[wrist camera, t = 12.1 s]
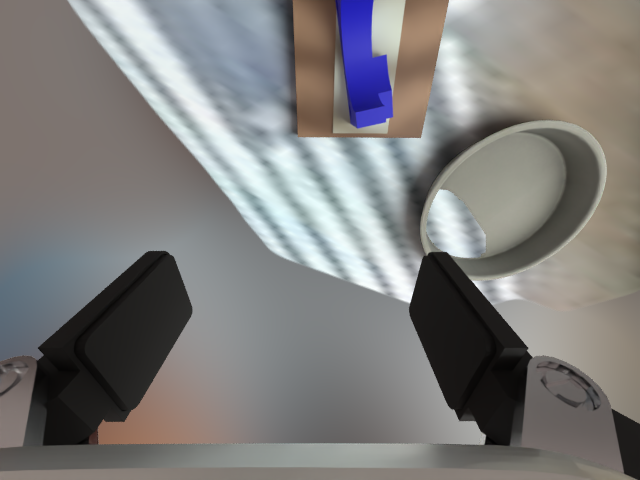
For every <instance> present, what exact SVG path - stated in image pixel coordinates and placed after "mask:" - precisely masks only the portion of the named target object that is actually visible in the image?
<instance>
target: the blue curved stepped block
mask: <svg viewBox="0 0 640 480" xmlns="http://www.w3.org/2000/svg"><path fill="white" fill-rule="evenodd" d="M335 2H336V10H337V18H338V26H339V34H340V42H341V50H342V58H343V66H344V74H345V82H346V90H347V98H348V107H349V115H350V123H351V124H352V125H353V126H354V127H356V128H357V129H358V128H363V127H367V126H372V125H376V124H381V123H385V122H386V119H388V118H392V117H393V101H392V88H391V85H390V80H389V74H388V65H387V54H386V55H382V56H378V57H374V58H373V57H372V12H373V2H374V0H335Z"/></svg>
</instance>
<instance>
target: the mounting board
mask: <svg viewBox="0 0 640 480" xmlns="http://www.w3.org/2000/svg"><path fill="white" fill-rule="evenodd" d="M448 2H449V0H374V2H373V12H372V57H373V58H374V57H378V56H382V55H386V54H387V65H388V74H389V80H390V85H391V88H392V101H393V117H392V118H388V119H386V122H385V123H381V124H376V125H372V126H367V127H363V128H358V129H357V128H356V127H354V126H353V125H352V124H351V123H350V115H349V107H348V98H347V90H346V82H345V74H344V66H343V58H342V50H341V42H340V34H339V26H338V18H337V10H336V2H335V0H293V19H294V46H295V73H296V99H297V126H298V137H379V138H421V135H422V130H423V125H424V120H425V115H426V110H427V105H428V100H429V96H430V91H431V86H432V81H433V76H434V71H435V66H436V61H437V56H438V51H439V46H440V41H441V37H442V32H443V27H444V22H445V17H446V12H447V7H448Z"/></svg>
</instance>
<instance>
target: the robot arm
mask: <svg viewBox="0 0 640 480" xmlns="http://www.w3.org/2000/svg"><path fill="white" fill-rule="evenodd" d="M409 313H410V317H411V320H412V322H413V324H414V327H415V329H416V331H417V334H418V336H419V338H420V341H421V343H422V346H423V348H424V350H425V353H426V355H427V357H428V360H429V362H430V364H431V367H432V369H433V371H434V374H435V376H436V378H437V381H438V383H439V386H440V388H441V390H442V393H443V395H444V398H445V400H446V402H447V404H448V406H449V407H450V408H451V409H454V410H455V412H456V414H457V417H458V419H459V421H476V422H477V425H478V427H479V429H480V431H481V432H482V433H481V437H480V442H479V445H461V444H327V443H323V444H320V443H317V444H109V445H108V444H107V445H106V444H104V445H99V444H98V426H99V425H100V423H101V422H102V420H103V419H104V420H105V421H106V422H124V421H125V420H126V418H127V416H128V415H129V413H130V411H131V410H133V409H134V408H136V407H137V406H138V404H139V403H140V401H141V400H142V398H143V396H144V395H145V393H146V391H147V389H148V388H149V386H150V384H151V383H152V381H153V379H154V378H155V376H156V374H157V373H158V371H159V369H160V367H161V366H162V364H163V363H164V361H165V359H166V357H167V356H168V354H169V352H170V351H171V349H172V347H173V345H174V344H175V342H176V341H177V339H178V337H179V335H180V334H181V332H182V330H183V329H184V327H185V325H186V324H187V322H188V320H189V319H190V317H191V315H192V306H191V303H190V300H189V297H188V294H187V291H186V289H185V286H184V283H183V280H182V278H181V275H180V272H179V270H178V267H177V264H176V261H175V259H174V257H173V256H172V255H170V254H169V253H168V252H166V251H148V252H146V253H145V254H144V255H143V256H142V257H141V258H140V259H138V260H137V261H136V262H135V263H134V264H133V265H132V266H130V267H129V268H128V269H127V270H126V271H125V272H124V273H122V274H121V275H120V276H119V277H118V278H117V279H116V280H114V281H113V282H112V283H111V284H110V285H109V286H108V287H106V288H105V289H104V290H103V291H102V292H101V293H100V294H98V295H97V296H96V297H95V298H94V299H93V300H92V301H91V302H89V303H88V304H87V305H86V306H85V307H84V308H83V309H81V310H80V311H79V312H78V313H77V314H76V315H75V316H73V317H72V318H71V319H70V320H69V321H68V322H67V323H66V324H64V325H63V326H62V327H61V328H60V329H59V330H58V331H56V332H55V333H54V334H53V335H52V336H51V337H50V338H48V339H47V340H46V341H45V342H44V343H43V344H42V345H41V346H40V347H38V349H39V350H40V351H41V352H42V353H43V354H44V356H43V357H42V358H40V359H39V360H38V361H37V360H36V359H35V358H33V357H32V356H18V357H13V358H10V359H7V360H4V361H1V362H0V480H640V424H639V423H637V422H635V421H633V420H631V419H629V418H628V417H626V416H624V415H622V414H620V413H618V412H617V411H615V410H613V409H611V405H610V403H609V400H608V398H607V396H606V395H605V393H604V392H603V391H602V389H601V388H600V387H599V386H598V385H597V384H596V383H595V382H594V381H593V380H592V379H591V378H590V377H589V376H587V375H586V374H584V373H583V372H582V371H580V370H579V369H578V368H576V367H574V366H572V365H570V364H569V363H567V362H564V361H562V360H559V359H557V358H554V357H549V356H536V357H534V358H533V357H532V356H531V355H530V354H529V353H528V352H527V349H528V347H527V346H526V345H525V344H524V342H523V341H522V340H521V339H520V338H519V336H518V335H517V334H516V333H515V332H514V331H513V329H512V328H511V327H510V326H509V325H508V323H507V322H506V321H505V320H504V319H503V318H502V316H501V315H500V314H499V313H498V312H497V311H496V309H495V308H494V307H493V306H492V305H491V303H490V302H489V301H488V300H487V299H486V297H485V296H484V295H483V294H482V293H481V292H480V290H479V289H478V288H477V287H476V286H475V284H474V283H473V282H472V281H471V280H470V279H469V277H468V276H467V275H466V274H465V273H464V271H463V270H462V269H461V268H460V267H459V266H458V264H457V263H456V262H455V261H454V260H453V258H452V257H451V256H450V255H449V254H448V253H447V252H429V253H428V255H427V256H424V257H423V259H422V262H421V266H420V270H419V274H418V277H417V281H416V285H415V288H414V292H413V296H412V299H411V303H410V307H409Z"/></svg>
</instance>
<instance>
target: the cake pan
mask: <svg viewBox="0 0 640 480" xmlns="http://www.w3.org/2000/svg"><path fill="white" fill-rule="evenodd" d="M606 174H607V168H606V160H605V155H604V153H603V150H602V148H601V146H600V144H599V143H598V141H597V140H596V139H595V138H594V137H593V136H592V135H591V134H590V133H589V132H587V131H586V130H584V129H583V128H581V127H579V126H578V125H575V124H571V123H568V122H564V121H560V120H537V121H530V122H525V123H521V124H517V125H514V126H511V127H508V128H505V129H503V130H501V131H498V132H496V133H494V134H492V135H490V136H488V137H486V138H485V139H483V140H481V141H479V142H477V143H475V144H473V145H472V146H470V147H468V148H467V149H465V150H464V151H462V152H461V153H460V154H458V155H457V156H456V157H455V158H454V159H452V160H451V161H450V162H449V163H448V164H447V165H446V166H445V167H444V169H443V170H442V171H441V172H440V173H439V175H438V176H437V178H436V179H435V181H434V182H433V184H432V186H431V188H430V189H429V192H428V194H427V197H426V200H425V203H424V207H423V212H422V216H421V222H420V238H421V242H422V246H423V249H424V251H425V253H426V255H428V253H429V252H443V251H441V250H440V249H438V248H437V247H436V246H435V245H434V243H432V242H431V240H430V239H429V237H428V235H427V232H426V223H427V217H428V213H429V210H430V207H431V204H432V202H433V200H434V198H435V196H436V194H437V192H438V191H439V189H443V190H449V191H450V192H452V193H454V195H455V196H457V197H458V199H459V200H462V201H463V202H464V203H465V205H466V206H467V207H468V209H469V210H470V212H471V213H472V215H473V216H474V218H475V219H476V221H477V222H478V224H479V225H480V227H481V228H482V230H483V231H484V233H485V234H486V253H483V254H481V257H478V258H460V257H455V256H451V255H450V256H451V257H452V258H453V260H454V261H455V262H456V263H457V264H458V266H459V267H460V268H461V269H462V270H463V271H464V273H465V274H466V275H467V276H468V277H469V279H470V280H476V281H482V280H493V279H499V278H504V277H508V276H511V275H514V274H517V273H520V272H523V271H525V270H527V269H529V268H532V267H534V266H536V265H537V264H539V263H541V262H543V261H544V260H546V259H548V258H549V257H551V256H552V255H554V254H555V253H557V252H558V251H559V250H560V249H562V248H563V247H564V246H565V245H566V244H567V243H569V242H570V241H571V240H572V239H573V238H574V237H575V236H576V235H577V234H578V233H579V232H580V230H581V229H582V228H583V227H584V226H585V224H586V223H587V222H588V220H589V219H590V217H591V216H592V214H593V212H594V211H595V209H596V207H597V205H598V203H599V201H600V199H601V196H602V193H603V190H604V187H605V181H606Z"/></svg>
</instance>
